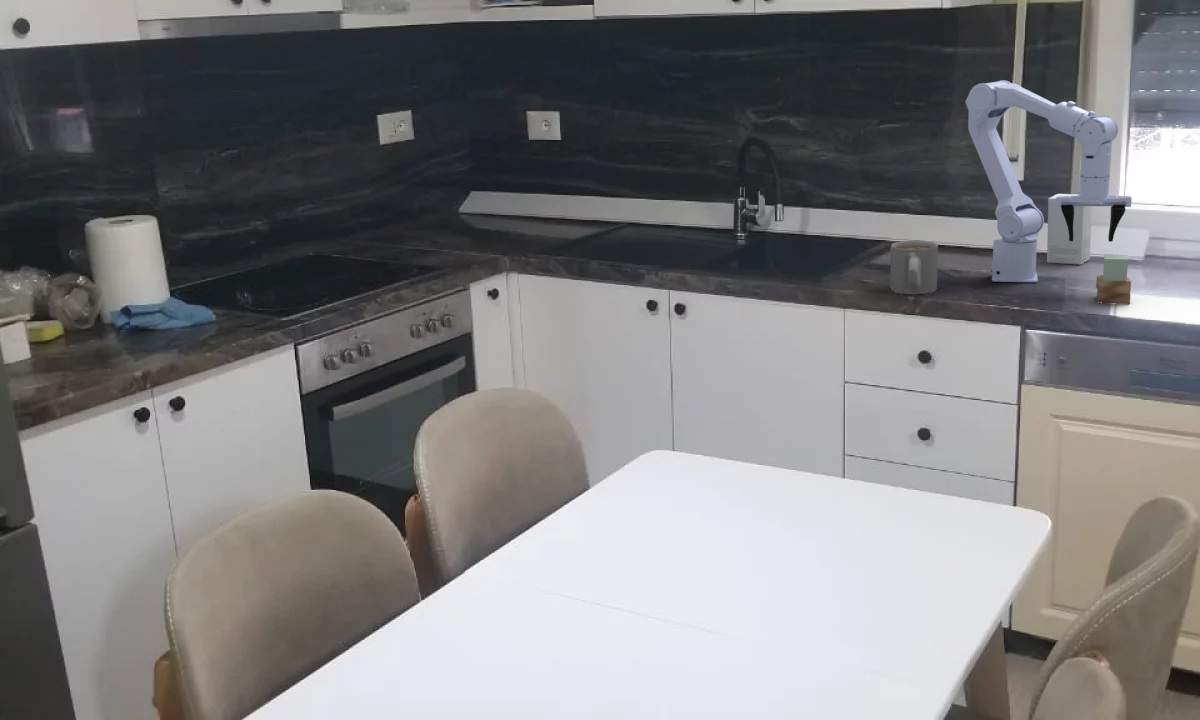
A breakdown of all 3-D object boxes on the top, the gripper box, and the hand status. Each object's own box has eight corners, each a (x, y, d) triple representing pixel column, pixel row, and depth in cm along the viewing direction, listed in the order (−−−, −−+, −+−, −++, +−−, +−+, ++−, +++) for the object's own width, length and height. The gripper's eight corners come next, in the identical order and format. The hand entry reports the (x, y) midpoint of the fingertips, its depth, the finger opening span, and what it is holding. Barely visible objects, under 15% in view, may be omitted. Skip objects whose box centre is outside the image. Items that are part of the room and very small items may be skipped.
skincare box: (1090, 260, 276) (1094, 194, 272) (1080, 266, 271) (1084, 198, 267) (1054, 257, 282) (1058, 192, 277) (1044, 262, 277) (1047, 196, 272)
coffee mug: (896, 283, 265) (896, 239, 262) (940, 285, 261) (942, 241, 258) (881, 297, 254) (882, 251, 251) (928, 300, 249) (929, 253, 247)
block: (1102, 280, 239) (1104, 258, 237) (1103, 275, 242) (1104, 254, 241) (1126, 281, 237) (1128, 259, 236) (1126, 276, 241) (1128, 254, 239)
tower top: (1100, 293, 239) (1101, 281, 238) (1096, 287, 244) (1096, 275, 243) (1130, 293, 237) (1131, 281, 237) (1125, 287, 242) (1125, 275, 242)
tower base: (1097, 305, 240) (1098, 293, 239) (1096, 298, 245) (1097, 286, 244) (1129, 306, 237) (1130, 294, 237) (1128, 299, 243) (1129, 287, 242)
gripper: (1058, 179, 243) (1054, 243, 247) (1134, 178, 238) (1129, 244, 242) (1056, 174, 249) (1053, 237, 253) (1131, 173, 245) (1126, 237, 249)
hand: (1090, 240), depth 248 cm, fingers open, 7 cm apart
